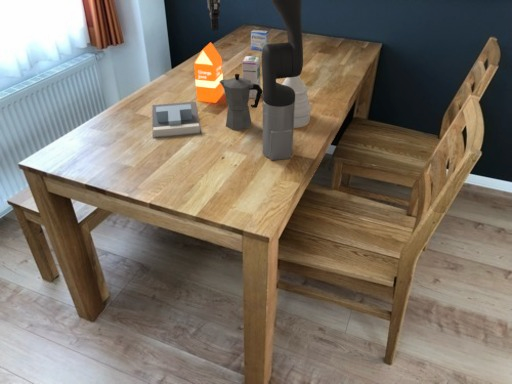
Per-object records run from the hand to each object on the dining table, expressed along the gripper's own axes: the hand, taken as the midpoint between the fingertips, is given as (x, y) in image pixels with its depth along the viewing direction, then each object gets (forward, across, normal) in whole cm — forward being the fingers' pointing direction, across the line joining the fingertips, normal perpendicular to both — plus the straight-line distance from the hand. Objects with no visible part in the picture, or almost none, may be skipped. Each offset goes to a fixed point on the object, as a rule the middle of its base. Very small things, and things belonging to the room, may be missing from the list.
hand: (215, 29), depth 142 cm
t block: (+29, -7, +16) cm, 34 cm away
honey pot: (+29, -11, -24) cm, 39 cm away
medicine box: (+29, +66, -28) cm, 77 cm away
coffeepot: (+29, -12, -6) cm, 32 cm away
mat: (+29, -3, +16) cm, 33 cm away
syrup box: (+29, +12, -14) cm, 35 cm away
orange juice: (+29, +13, +2) cm, 32 cm away
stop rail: (+29, -14, +16) cm, 36 cm away
